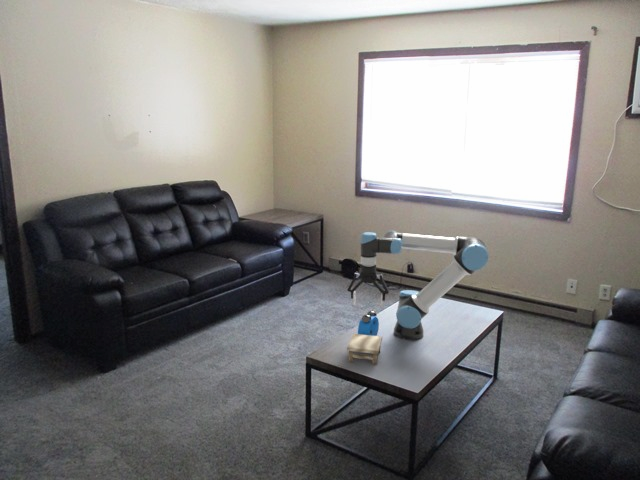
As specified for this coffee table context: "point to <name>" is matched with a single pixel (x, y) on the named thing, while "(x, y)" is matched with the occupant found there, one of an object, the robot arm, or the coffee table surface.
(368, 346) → the stool
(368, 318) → the alarm clock
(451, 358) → the coffee table surface
